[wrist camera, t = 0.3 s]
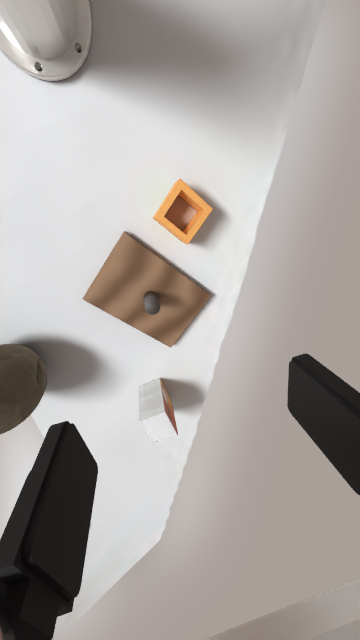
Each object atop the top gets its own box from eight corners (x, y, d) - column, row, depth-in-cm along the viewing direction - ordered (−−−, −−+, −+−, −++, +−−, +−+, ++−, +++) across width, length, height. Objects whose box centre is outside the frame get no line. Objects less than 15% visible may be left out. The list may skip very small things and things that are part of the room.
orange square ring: (152, 218, 38) (154, 217, 34) (175, 183, 36) (180, 178, 32) (182, 242, 40) (187, 244, 36) (204, 210, 39) (212, 209, 35)
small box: (171, 399, 55) (179, 436, 46) (150, 407, 55) (154, 446, 46) (160, 376, 52) (165, 411, 42) (137, 385, 52) (138, 422, 42)
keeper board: (84, 296, 41) (75, 310, 35) (124, 231, 38) (122, 233, 31) (169, 344, 49) (175, 362, 42) (209, 293, 45) (221, 305, 39)
